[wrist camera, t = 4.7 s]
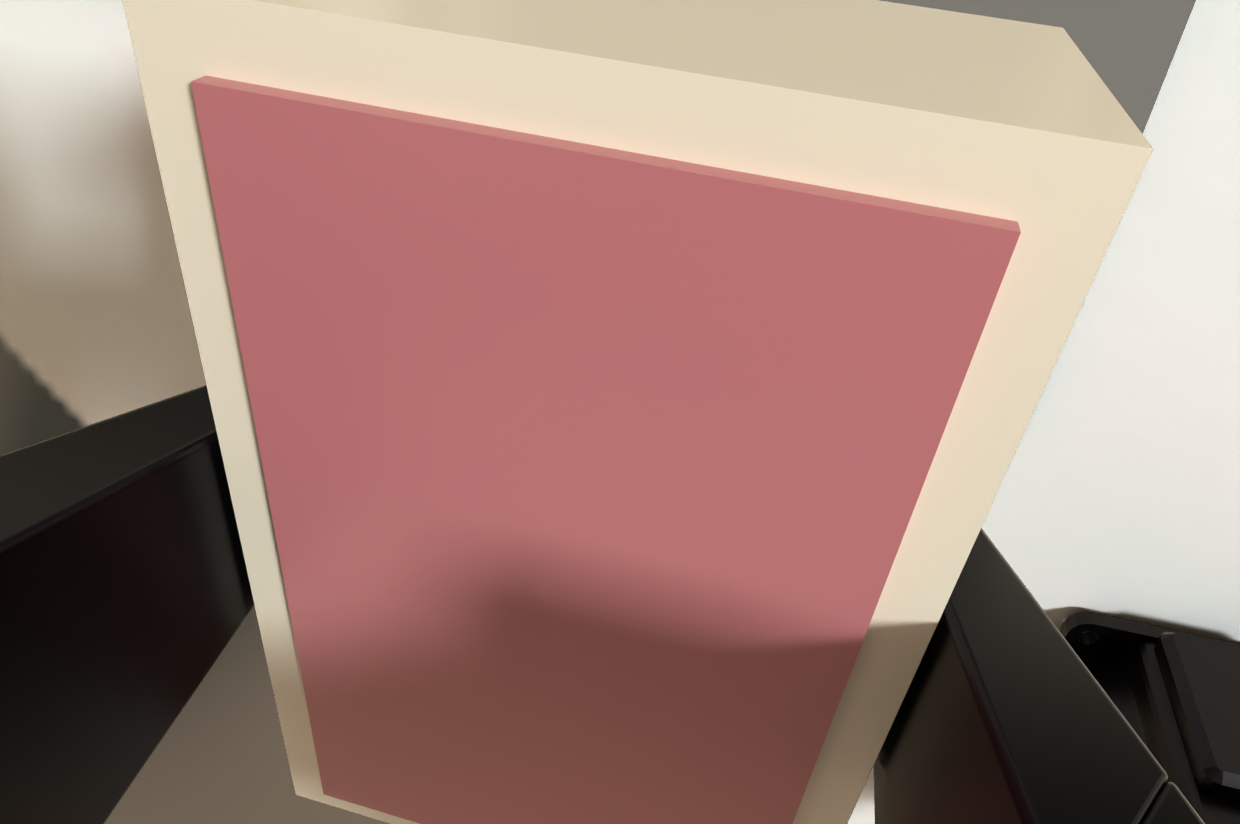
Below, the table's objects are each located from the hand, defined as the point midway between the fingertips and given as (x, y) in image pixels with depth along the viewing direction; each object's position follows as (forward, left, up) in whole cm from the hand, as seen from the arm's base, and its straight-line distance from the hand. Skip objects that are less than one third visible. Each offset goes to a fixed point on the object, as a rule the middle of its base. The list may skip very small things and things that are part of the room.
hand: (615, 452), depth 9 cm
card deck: (0, 0, -1) cm, 1 cm away
